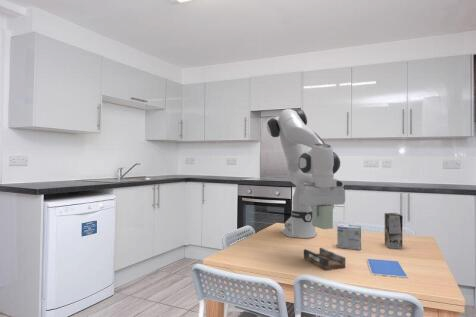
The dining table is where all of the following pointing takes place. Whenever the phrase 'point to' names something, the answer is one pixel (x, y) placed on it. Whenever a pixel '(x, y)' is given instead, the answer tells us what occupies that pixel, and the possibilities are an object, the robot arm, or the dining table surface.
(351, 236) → the light bulb box
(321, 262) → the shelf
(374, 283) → the dining table surface
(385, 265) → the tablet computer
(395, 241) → the coffee box
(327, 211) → the plain green carton
